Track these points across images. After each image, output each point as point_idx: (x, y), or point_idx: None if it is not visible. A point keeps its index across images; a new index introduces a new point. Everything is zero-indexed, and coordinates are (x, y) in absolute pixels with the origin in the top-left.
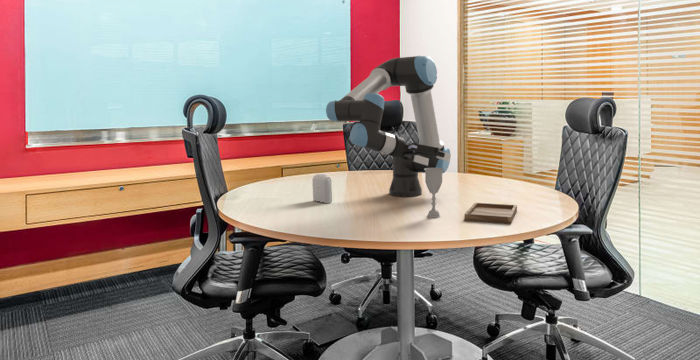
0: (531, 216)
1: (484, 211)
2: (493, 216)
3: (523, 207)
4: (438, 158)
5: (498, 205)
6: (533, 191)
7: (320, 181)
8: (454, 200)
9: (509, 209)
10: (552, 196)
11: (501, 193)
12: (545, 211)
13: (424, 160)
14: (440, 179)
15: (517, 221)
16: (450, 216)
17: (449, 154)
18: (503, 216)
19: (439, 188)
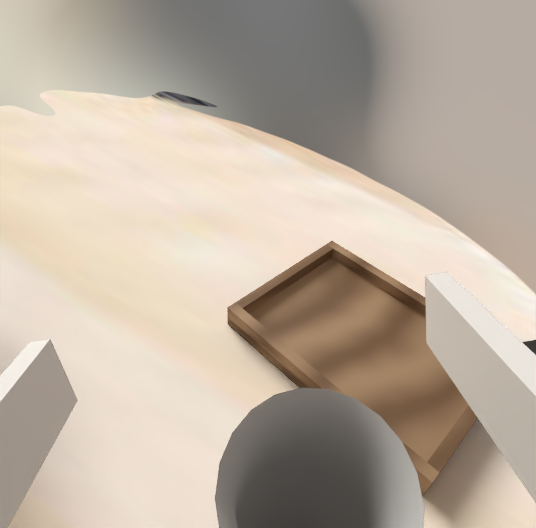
0: (409, 267)
1: (331, 344)
2: None
3: (290, 221)
4: (495, 443)
5: (298, 273)
6: (140, 122)
7: None
8: (53, 299)
9: (333, 270)
10: (214, 130)
11: (97, 164)
12: (359, 215)
13: (38, 406)
14: (370, 492)
15: None
16: None
17: (456, 285)
18: None
19: (328, 514)
